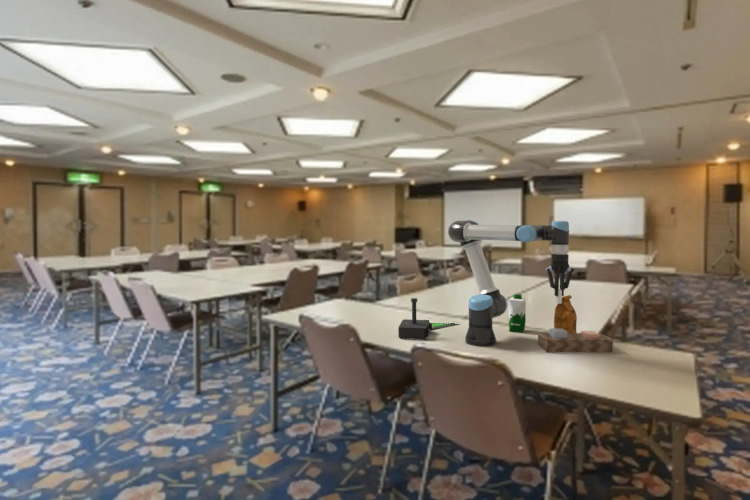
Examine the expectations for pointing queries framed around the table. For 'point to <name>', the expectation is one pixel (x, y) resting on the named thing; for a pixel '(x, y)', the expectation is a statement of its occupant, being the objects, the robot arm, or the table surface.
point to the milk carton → (517, 313)
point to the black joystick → (414, 326)
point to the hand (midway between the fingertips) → (558, 303)
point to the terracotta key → (590, 334)
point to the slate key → (558, 333)
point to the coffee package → (565, 315)
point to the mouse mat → (441, 325)
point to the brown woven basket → (575, 343)
